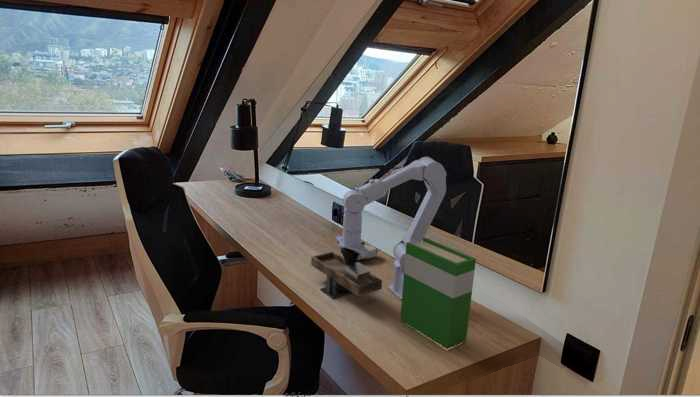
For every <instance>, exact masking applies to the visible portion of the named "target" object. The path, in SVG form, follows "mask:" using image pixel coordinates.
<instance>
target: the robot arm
mask: <svg viewBox="0 0 700 397" xmlns="http://www.w3.org/2000/svg"><path fill="white" fill-rule="evenodd" d="M446 177H447V171H446V170H445V168H444V166H443V164H441V163H440V162H437V161H436V160H434V159H433V158H431V156H430V157H429V156H423V157H421V158H419V159H415V160H413V161H412V162H410V163H409V164H408V165H406V166H404V167H402V168H401V169H399V170H397V171H395V172H394V173H392V174H390V175H388V176H387V177H385V178H384V179H378V178H375V179H373V178H371V179H369V180H368V182H367V183H365V184H364V185H362V186H360V187H358V186H357V187H355V188H354V189H355V190H353V189H352V190H348V191H347V192H345V194H344V195H343V198H342V203H343V205H344V209H343V219H342V220H343V221H342V235H337V236H335V243H336V244H338V243H339V246H340V247H341V248H343V249H341V248H340V253H341V255H342V257H344V260H345V263H346V265H350V264H353V263H357V261H358V260H357V258H358V256H359V255H360V254H361V256H362V257H366V256H368V251H369V250H368V249H366V248H365V247H364V246H363V244H362V243H361V242H362V227H363V226H362V224H363V215H362V214H363V211H364V209H365V206H367V205H369V204H371V203H374V202H375V201H377V200H380V199H381V198H383V197H385V196H386V194H387V191H388V190H390V189H392V188H395V187H398V185H399V186H400V185H401V184H403V183H406V182H408V181H410V180H414V181H415V180H416V181H421V182H422V181H423V182H424V185H425V186H426V189H427V192H426V193H425V196H424V197H423V199H422V201H421V202H420V203H421V204H420V206H419V208H418V210H417V212H416V214H415V216H414V219H413V220H412V223H410V226H409V229H408V231H407V233H406V234H404V235H403V236H402V237H401V238H400V240H399V242H397V243H396V244H395V245H394V247H393V250H392V251H393V252H392V253H393V256H394V257H395V261H394V263H393V275H392V284H390V285H387V286H386V287H387V288H388V289H389V291H391V292H392V293H393V294H394V295H395V296H396V297H397V298H398V299H399V300H401V299H402V292H403V280H404V267H405V254H406V243H407V242H410V243H412V244H416V243H420V242H423V238H425V236H426V234H427V232H428V230H429V227H430V226H431V223H432V222H433V220H434V218H435V216H436V214H437V212H438V210H439V207H441V206H440V205H441V204H442V201H443V199H444V198H445V195H446V192H447V178H446Z"/></svg>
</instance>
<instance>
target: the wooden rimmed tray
mask: <svg viewBox="0 0 700 397" xmlns="http://www.w3.org/2000/svg"><path fill="white" fill-rule="evenodd" d="M310 259H311V262H310V263H311V264H310V265H311V266H312V267H313V268H315V269H317V270H318V271H319V272H321V273H323V274H324V275H325V276H326V277H327V276H328V275H331V276H332V277H333V280H334V281H336V282H337V283H339V284H340V285H342V286H343V287H345V288H346V289H348V290H349V291H351V292H352V293H351V294H354V295H355V296H356V297H361V296H364V295H367V294H370V293H374V292H378V291H380V290H382V289H383V288H382V286H383V280H382V279H381V278H379V277H378V276H376V275H374V274H372V273H371V272H370V277H369V282H368V283H365V284H362V285H358V284H356V283H355V282H353V281H351V280H350V279H348V278H347V277H345V269H346V263H345V260H344V257H343V255H340V254H338V253H336V252H335V251H330V252H326V253H322V254H318V255H314V256H311V258H310Z"/></svg>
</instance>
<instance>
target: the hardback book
mask: <svg viewBox="0 0 700 397" xmlns="http://www.w3.org/2000/svg"><path fill="white" fill-rule="evenodd" d="M476 262H477V260H476V258H475V257H472V256H470V255H467V254H465V253H462V252H460V251H459V250H456V249H453V248H451V247H449V246H445V245H443V244H441V243H439V242H436V241H435V240H431V239H429V238H427V237H424V238H423V240H422V242H420V243H416V244H412V243H410V242H407V243H406V254H405V267H404V280H403V292H402V300H401V309H400V320H402V321H403V322H404V323H406V324H408V325H410V326H411V327H413V328H414V329H416V330H418V331H420V332H421V333H423V334H424V335H426V336H427V337H429V338H431V339H432V340H434V341H435V342H437V343H439V344H441V345H442V346H443V347H445V348H447V349H448V348H450V347H453V346H455V345H458V344H460V343H462V342H464V341H466V342H467V334H468V327H469V319H470V312H471V303H472V293H473V288H474V287H473V286H474V278H475V270H476ZM404 323H403V324H404ZM406 324H405V325H406Z"/></svg>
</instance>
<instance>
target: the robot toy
mask: <svg viewBox="0 0 700 397" xmlns="http://www.w3.org/2000/svg"><path fill="white" fill-rule="evenodd" d="M361 243H362V244H363V246H364V247H365V248H366V249H368V250H369V251H368V256H366V257H362V256H361V254H360V255H359V256H358V258H357V260H356V261H361V260H369V259H372V258H375V257H376V256H377V254H378V251H379V252H382V249H377V248H376V247H374V246H373V245H370V244H368V245H365V242H364V241H361ZM338 248H339V249H340V250H341V249H343V248H341V247H340V245H338Z"/></svg>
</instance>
